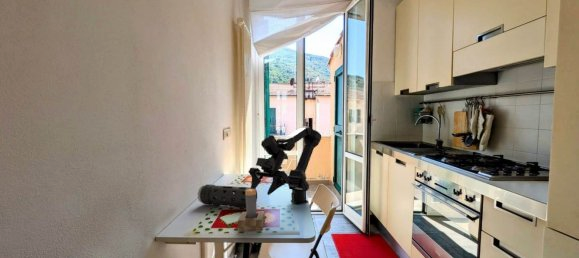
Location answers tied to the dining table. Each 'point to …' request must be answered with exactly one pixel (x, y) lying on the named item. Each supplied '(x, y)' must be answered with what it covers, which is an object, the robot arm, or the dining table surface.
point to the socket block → (251, 222)
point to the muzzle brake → (223, 195)
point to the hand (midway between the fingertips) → (259, 192)
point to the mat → (231, 218)
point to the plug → (251, 203)
